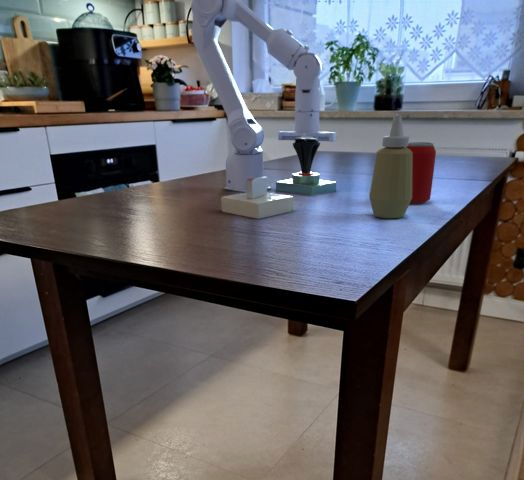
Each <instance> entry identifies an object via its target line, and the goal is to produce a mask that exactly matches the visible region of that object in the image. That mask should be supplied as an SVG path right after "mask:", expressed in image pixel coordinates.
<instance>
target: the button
mask: <svg viewBox="0 0 524 480" xmlns="http://www.w3.org/2000/svg"><path fill="white" fill-rule="evenodd" d="M298 173H299V175H313V173H314V172H313V171H310V172H309V173H302V171H299V172H298Z"/></svg>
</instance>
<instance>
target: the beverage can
mask: <svg viewBox="0 0 524 480" xmlns="http://www.w3.org/2000/svg"><path fill="white" fill-rule="evenodd" d="M405 148H407V149H410V150H411V151H412V152H413V161H412V199H411V202H410V204H411V205H423V204H425V203H427V202H428V201H430V200H431V195H432V189H433V180H434V174H435V173H434V172H435V165H436V155H437V151H436V148H435V145H434V143H433V142H428V141H427V142H425V141H420V142H419V141H417V142H416V141H414V142H408V146H407V147H405ZM410 204H409V205H410Z"/></svg>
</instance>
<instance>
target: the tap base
mask: <svg viewBox="0 0 524 480" xmlns="http://www.w3.org/2000/svg"><path fill="white" fill-rule="evenodd" d="M220 199H221V200H220V201H221V202H220V203H221V212H223V213H228V214H232V215H237V216H242V217H246V218H250V219H251V218H252V219H257V220H260V219H265V218H268V217H273V216H277V215H282V214H286V213H291V212H294V196H293V195H287V194H281V193H276V192H268V191H267V194H266V195H263V196H260V197H257V198H254V199H248V198H246V192H240V193H235V194H229V195H224V196H221V198H220Z"/></svg>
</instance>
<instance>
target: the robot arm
mask: <svg viewBox="0 0 524 480" xmlns="http://www.w3.org/2000/svg"><path fill="white" fill-rule="evenodd" d="M190 4H191V5H190V9H191V13H192V43H193V45H194V47H195V49H196V51H197V54H198V55H199V58H200V60H201V62H202V64H203V67H204V69H205V71H206V73H207V75H208V77H209V79H210V82H211V84H212V86H213V88H214V90H215V92H216V95H217V97H218V99H219V101H220V103H221V106H222V108H223V110H224V112H225V114H226V117H227V126H228V129H229V131H230V140H231V145H232V146H233V148H234V149H233V152H231V153H229V154H228V155H227V157H226V160H225V177H226V179H225V180H226V186H224V190H229V191H233V192H240V193H246V180H247V179H249V178H252V179H253V178H257V177H261V176H262V177H264V149H263V148H262V147H261V146H262V144H263V143H264V140H265V133H264V130H263V128H262V126H261V125H260V124H259V123H258V122H257V121H256V120H255V118H254V116H253V115H252V113H251V112H250V110H249V109H248V108H247V106H246V104H245V101H244V99H243V97H242V94H241V92H240V90H239V88H238V85H237V83H236V81H235V79H234V76H233V74H232V72H231V70H230V68H229V65H228V63H227V61H226V58H225V56H224V54H223V52H222V49H221V47H220V45H219V43H218V39H219V36H220V34H221V30H222V28H223V26H224V25H225V24H226V22H228V21H230V22H236V23H240V24H241V25H242V26H243V27H244V28H246V29H247V30H249V31H250V32H251V33H252V34H254V35H255V36H257V37H258V38H259V39H261V40H262V41H264V42H265V44H266V48H267V54H269V55H270V56H271V57H272V58H274V59H275V60H276V61H277V62H278V63H280V64H281V65H282V66H284V67H285V68H286V69H288V71H293V75H294V76H295V91H294V130H293V131H292V130H291V131H288V130H287V131H284V130H282V131H281V130H280V131H278V133H277V138H278V139H277V141H294V142H293V143H292V147H293V149H294V151H295V153H296V155H297V159H298V161H299V165H300V170H301V172H302V173H309V172H312V171H311V170H312V166H313V162H314V160H315V156H316V154H317V152H318V149H319V147H321V146H320V145H321V142H330V143H333V142H336V141H337V134H338V133H337V131H320V111H321V109H320V108H321V107H320V106H321V105H320V103H321V89H320V85H321V79H320V75H321V73H322V70H323V67H322V62H321V59H320V57H319V56H318V55H317V54H316V53H314V52H309V50H310V47H309V45H307V44H305V45H303V44H302V43H301V42H300V41H299V40H298V39H296V38H295V37H294V36H293V35H294V33H293V31H291V30H290V29H289V28H287V29H284V28H278V29H274V28H273V27H271V26H270V25H269V24H268V23H267V22H266V21H265V20H263V19H262V18H261V17H260V16H259V15H258V14H256V12H254V10H252V9H251V8H250V7H248V6H247V5H246V4H245V2H243V1H241V0H192V1H191V3H190ZM267 190H272V187H271V186H267Z"/></svg>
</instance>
